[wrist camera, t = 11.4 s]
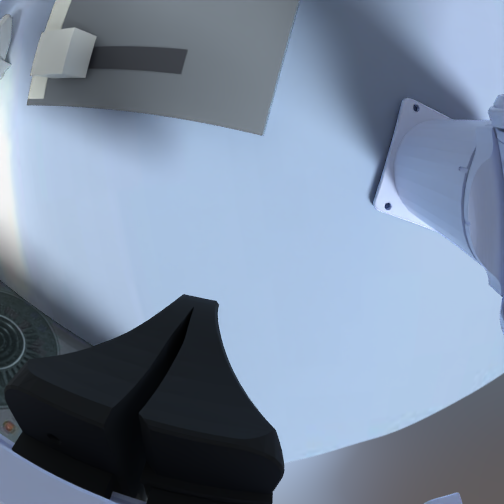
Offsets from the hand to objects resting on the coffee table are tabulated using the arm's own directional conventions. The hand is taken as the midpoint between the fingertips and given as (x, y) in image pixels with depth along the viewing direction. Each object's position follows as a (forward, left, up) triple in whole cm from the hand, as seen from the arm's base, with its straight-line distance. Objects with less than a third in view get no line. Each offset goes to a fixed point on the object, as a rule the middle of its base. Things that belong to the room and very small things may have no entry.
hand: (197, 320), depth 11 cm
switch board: (+9, -18, -10) cm, 22 cm away
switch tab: (+13, -10, -8) cm, 19 cm away
